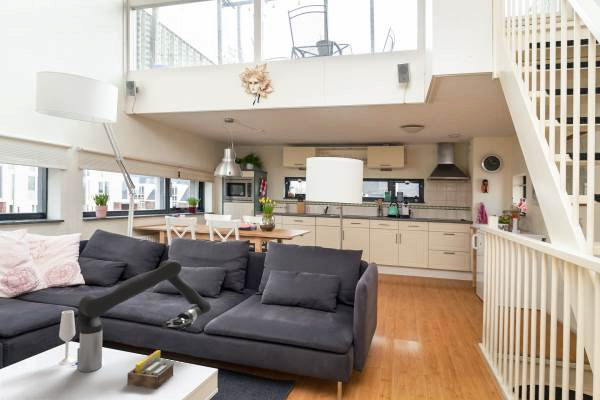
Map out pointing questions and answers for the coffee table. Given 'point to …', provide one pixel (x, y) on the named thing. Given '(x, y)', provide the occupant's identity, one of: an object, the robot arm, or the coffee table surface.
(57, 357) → the coffee table surface
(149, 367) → the sage offcut
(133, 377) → the offcut rack
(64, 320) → the champagne flute
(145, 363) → the candy box
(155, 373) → the slate offcut
